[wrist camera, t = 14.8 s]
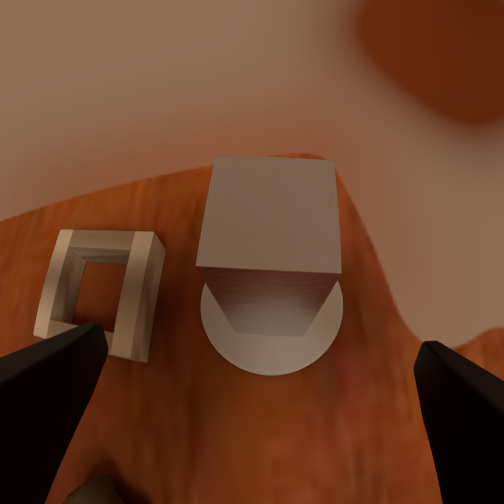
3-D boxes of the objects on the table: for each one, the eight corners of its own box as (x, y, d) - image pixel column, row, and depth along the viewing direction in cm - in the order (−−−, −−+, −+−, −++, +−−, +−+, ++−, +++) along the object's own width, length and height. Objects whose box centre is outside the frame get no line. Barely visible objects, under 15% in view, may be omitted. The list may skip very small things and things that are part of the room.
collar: (147, 363, 20) (130, 358, 18) (55, 342, 21) (33, 334, 18) (166, 249, 24) (153, 231, 21) (77, 245, 25) (60, 229, 22)
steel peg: (302, 336, 20) (341, 273, 9) (235, 333, 20) (195, 265, 10) (304, 274, 22) (333, 161, 11) (241, 271, 22) (215, 156, 11)
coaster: (368, 306, 21) (370, 304, 21) (267, 404, 19) (267, 405, 18) (274, 218, 25) (274, 214, 24) (175, 300, 22) (173, 297, 22)
